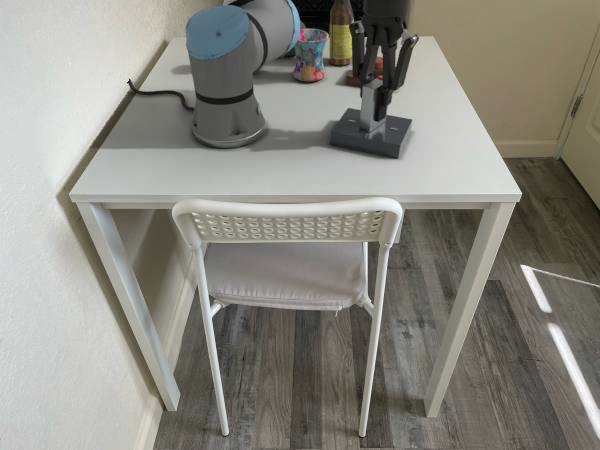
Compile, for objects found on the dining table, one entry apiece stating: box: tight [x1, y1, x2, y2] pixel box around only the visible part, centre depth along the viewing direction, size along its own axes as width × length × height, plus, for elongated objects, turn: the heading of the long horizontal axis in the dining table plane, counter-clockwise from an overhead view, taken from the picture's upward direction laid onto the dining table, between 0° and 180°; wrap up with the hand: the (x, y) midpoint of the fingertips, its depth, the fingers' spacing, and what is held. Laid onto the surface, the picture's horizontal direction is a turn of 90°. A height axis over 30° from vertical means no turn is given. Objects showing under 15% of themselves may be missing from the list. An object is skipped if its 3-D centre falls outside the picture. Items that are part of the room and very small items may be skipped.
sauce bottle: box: [329, 0, 355, 66], centre depth 118 cm, size 6×6×20 cm
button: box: [374, 56, 383, 69], centre depth 113 cm, size 4×4×2 cm
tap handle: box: [359, 75, 389, 133], centre depth 89 cm, size 6×2×9 cm, turn 139°
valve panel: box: [330, 107, 413, 159], centre depth 93 cm, size 14×11×3 cm
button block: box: [345, 66, 396, 92], centre depth 115 cm, size 12×10×4 cm
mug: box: [292, 28, 330, 82], centre depth 115 cm, size 12×9×11 cm
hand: (373, 116), depth 91 cm, fingers closed on tap handle, 2 cm apart
